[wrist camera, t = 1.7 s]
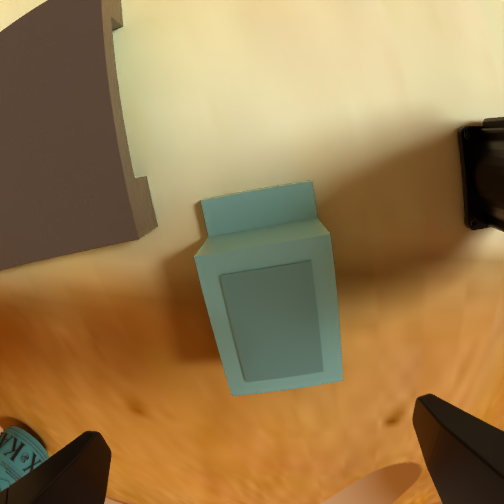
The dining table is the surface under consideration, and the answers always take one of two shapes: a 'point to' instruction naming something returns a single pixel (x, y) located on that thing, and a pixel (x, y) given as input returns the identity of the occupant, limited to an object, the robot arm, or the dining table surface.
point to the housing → (271, 289)
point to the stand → (65, 136)
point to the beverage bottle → (18, 455)
